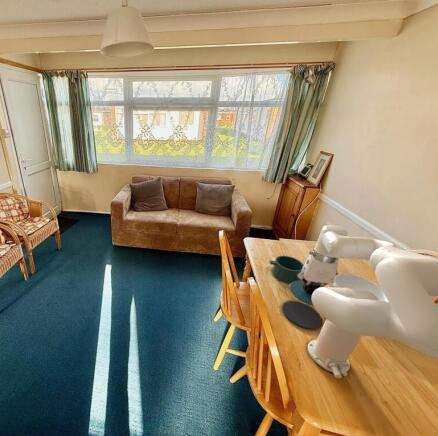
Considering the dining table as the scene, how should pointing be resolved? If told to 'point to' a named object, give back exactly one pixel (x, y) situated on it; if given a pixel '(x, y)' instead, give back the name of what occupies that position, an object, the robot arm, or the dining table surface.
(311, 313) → the mat
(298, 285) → the lid
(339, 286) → the serving bowl
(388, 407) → the dining table surface
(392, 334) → the robot arm
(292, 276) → the pot
